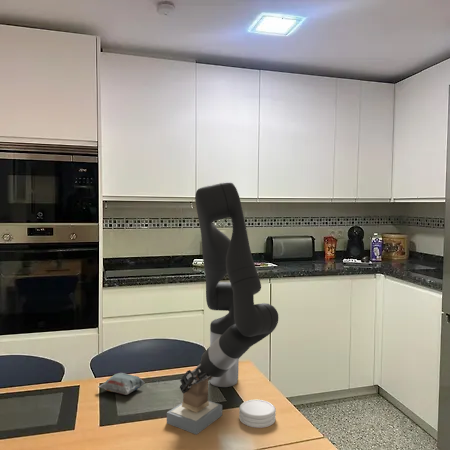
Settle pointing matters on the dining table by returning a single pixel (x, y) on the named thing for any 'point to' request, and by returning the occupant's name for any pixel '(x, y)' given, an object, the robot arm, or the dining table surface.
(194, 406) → the dome-topped square block
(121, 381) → the packaged food
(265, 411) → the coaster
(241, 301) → the robot arm
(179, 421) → the dock
